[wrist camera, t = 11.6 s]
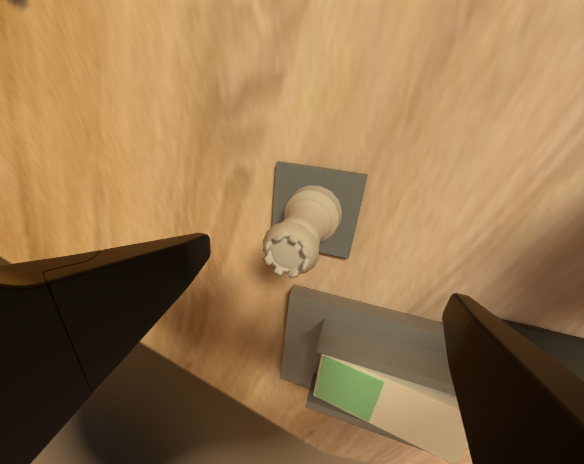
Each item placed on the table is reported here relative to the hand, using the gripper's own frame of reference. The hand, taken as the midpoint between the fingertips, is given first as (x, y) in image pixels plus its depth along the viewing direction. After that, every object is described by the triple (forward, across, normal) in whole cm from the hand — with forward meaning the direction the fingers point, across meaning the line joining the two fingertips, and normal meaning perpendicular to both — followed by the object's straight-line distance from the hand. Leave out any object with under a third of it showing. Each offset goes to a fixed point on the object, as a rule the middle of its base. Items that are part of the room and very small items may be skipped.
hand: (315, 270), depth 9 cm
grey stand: (+12, -7, +16) cm, 21 cm away
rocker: (+8, -7, +16) cm, 19 cm away
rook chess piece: (+11, +2, +2) cm, 12 cm away
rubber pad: (+12, +2, +2) cm, 12 cm away
